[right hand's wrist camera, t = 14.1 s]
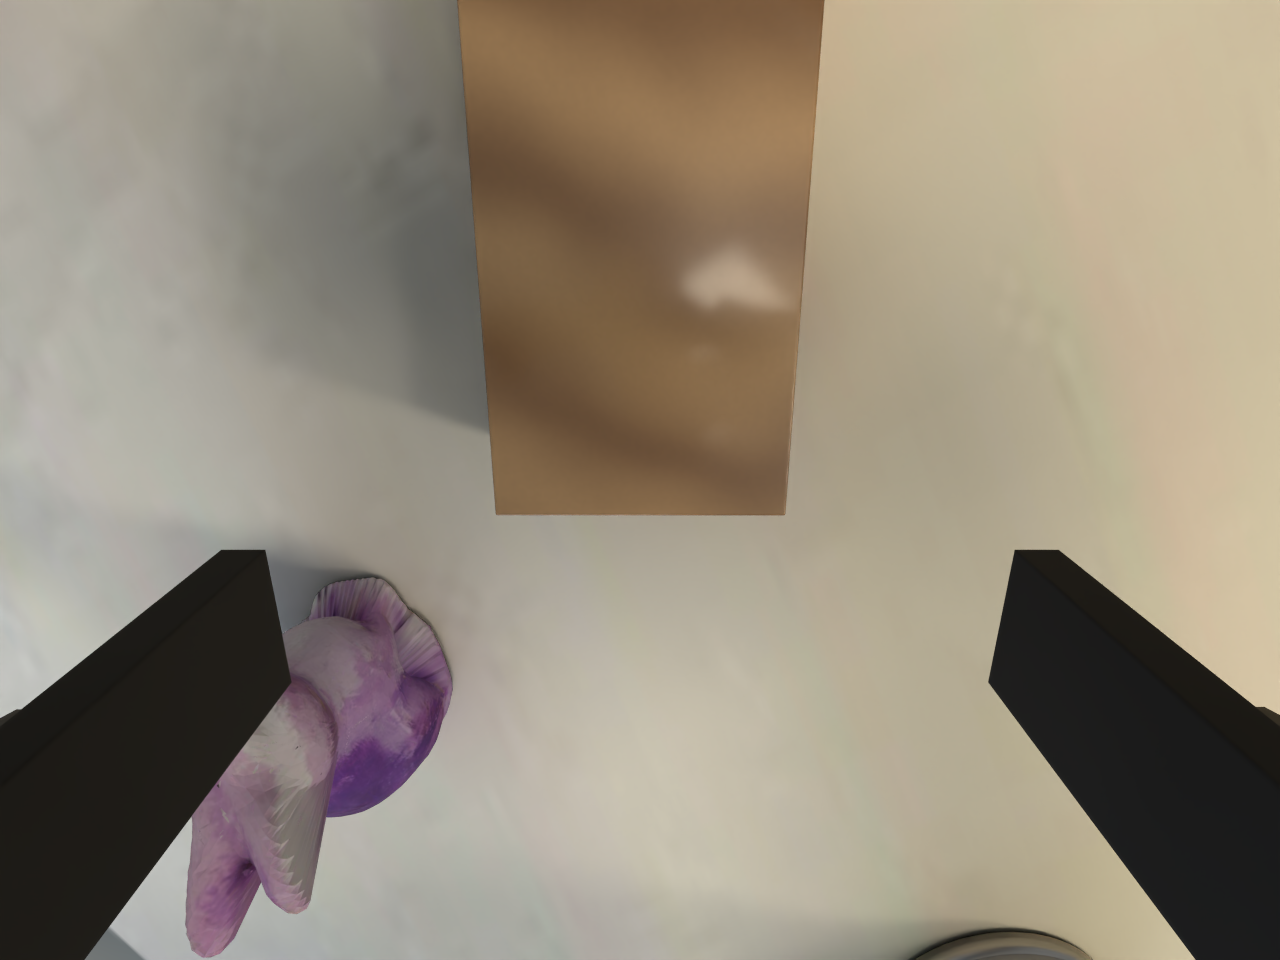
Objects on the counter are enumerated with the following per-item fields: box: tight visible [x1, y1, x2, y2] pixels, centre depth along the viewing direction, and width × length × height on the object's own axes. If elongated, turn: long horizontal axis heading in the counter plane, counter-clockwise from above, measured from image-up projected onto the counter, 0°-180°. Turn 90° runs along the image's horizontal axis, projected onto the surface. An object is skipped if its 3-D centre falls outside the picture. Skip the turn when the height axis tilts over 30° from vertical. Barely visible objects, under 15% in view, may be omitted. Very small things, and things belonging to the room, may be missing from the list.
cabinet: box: [457, 0, 824, 515], centre depth 26 cm, size 21×10×8 cm, turn 0°
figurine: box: [185, 577, 452, 957], centre depth 30 cm, size 9×10×15 cm
